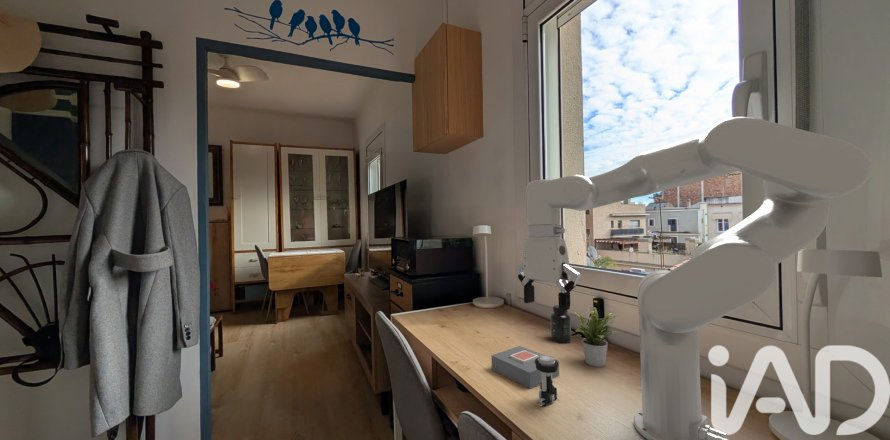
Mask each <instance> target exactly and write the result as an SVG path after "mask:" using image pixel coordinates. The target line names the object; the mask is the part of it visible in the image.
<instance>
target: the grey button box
mask: <svg viewBox="0 0 890 440" xmlns="http://www.w3.org/2000/svg"><path fill="white" fill-rule="evenodd" d="M524 350H525V351H528V352H530V353H533V354H535V355H538V357H539V356H540V355H544V354H543V353H540V352H536V351H535V350H532V349H530V348H526V347H524V346H522V345H519V346H516V347H512V348H509V349H507V350H503V351H501V352H497V353H494V354H492V355H491V370H493V372H496V373H498V374H501V375H503V376H504V377H506V378H508V379H510V380H512V381H515V382H516V383H518V384H520V385H522V386H524V387H526V388H528V389H533V388H535V387H538V386H540V384H541V383H542V380H541V372H540V371H539V370H537V369H536V364H535V361H533V362H530V363H528V364H525V365H524V364H521V363H519V362H517V361H514V360H512V359H510V355H513V354H515V353H518V352H521V351H524ZM554 360H556V361H557V362H558V367H557V371H556V372H554V373H552V379H554V378H558V377H559V376H560V360H558V359H556V358H554Z"/></svg>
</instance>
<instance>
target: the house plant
mask: <svg viewBox="0 0 890 440" xmlns="http://www.w3.org/2000/svg"><path fill="white" fill-rule="evenodd" d="M588 310H589V312H590V320H589V321H588V322H587V323H586V320H585V319H584V318H583V317H582V315H581V314H579V313H578V312H576V311H575V310H572V312H574V313H575V314H576V315H577V316H578V317H577V316H575V318H576V319H577V320H579V322H580V328H579V327H575V331H574V332H580V333H581V334H582V335H583V336H584V338H583V339H581V345H582V348H583V354H584V360H585V363H586V364H587V365H588V366H589V365H590V366H591V367H596V368H597V367H598V368H600V367H604V366H605V364H606V359H607V352H608V345H609V344H608V343H609V342H607V341H606V340H605V339H606V338H607V337H609V336H611V335H612V334H615V335H617V333H619V331H618V330H617V331H612V330H606V329H607V327H608V326H609V325H611V324H614V323H615V324H616V323H617V322H616V321H612V322H609V321H611V320H612V319H615V318H617V316H612V314H614V311H613V312H610V313H608V314H605V316H604V317H603V318H599V313H598V309H597V308H596V307H595V308H594V309H592V310H591V309H590V308H588ZM607 322H609V323H607ZM607 333H608V334H607ZM605 334H607V335H605Z"/></svg>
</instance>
